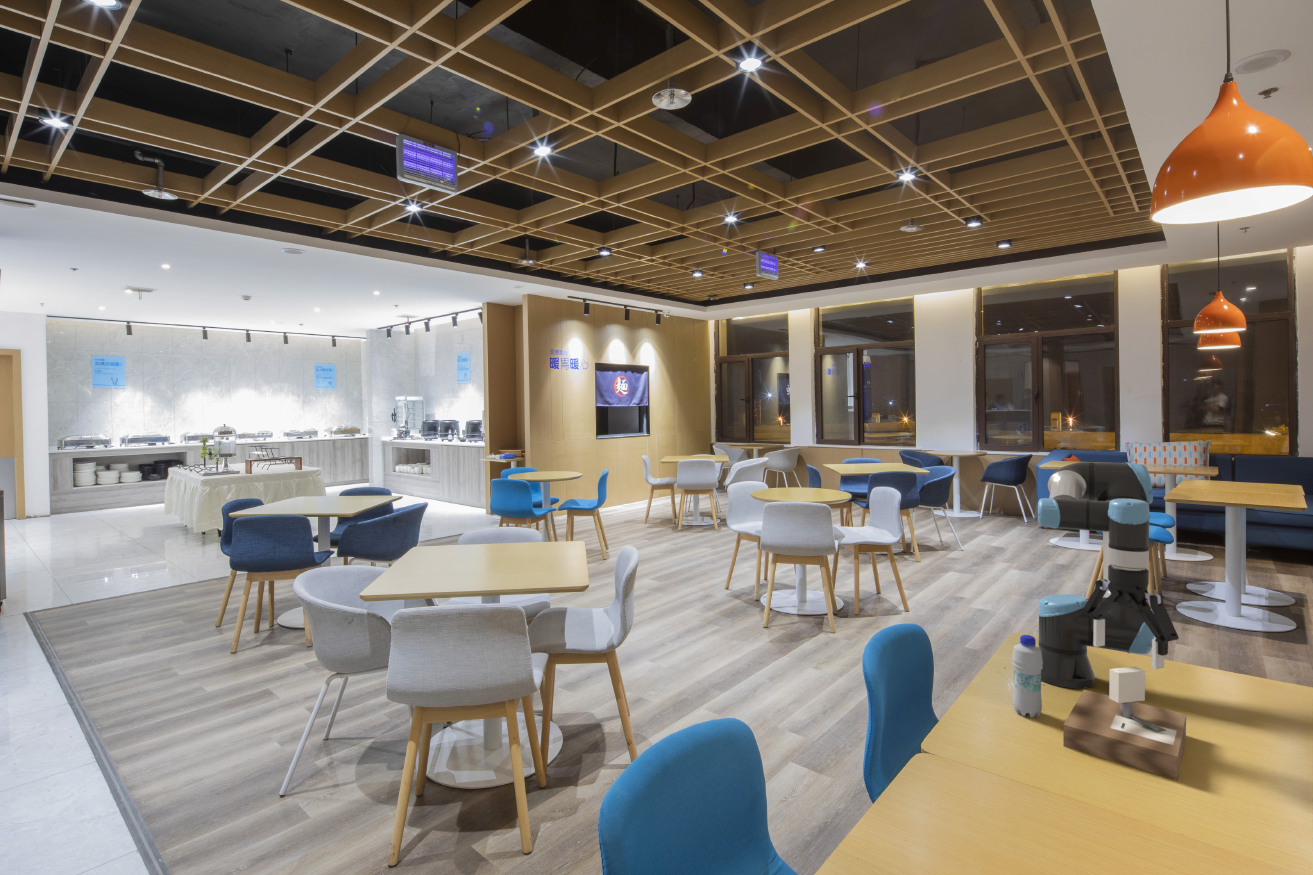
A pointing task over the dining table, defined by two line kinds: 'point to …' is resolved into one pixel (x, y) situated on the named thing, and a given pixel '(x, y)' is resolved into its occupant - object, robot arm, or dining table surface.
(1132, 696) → the white box with rod
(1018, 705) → the bottle
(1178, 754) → the wooden box with sign
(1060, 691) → the dining table surface
